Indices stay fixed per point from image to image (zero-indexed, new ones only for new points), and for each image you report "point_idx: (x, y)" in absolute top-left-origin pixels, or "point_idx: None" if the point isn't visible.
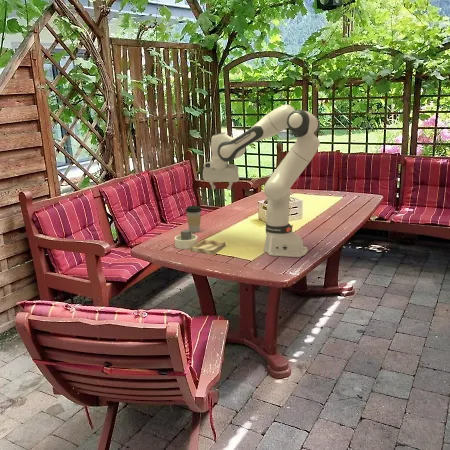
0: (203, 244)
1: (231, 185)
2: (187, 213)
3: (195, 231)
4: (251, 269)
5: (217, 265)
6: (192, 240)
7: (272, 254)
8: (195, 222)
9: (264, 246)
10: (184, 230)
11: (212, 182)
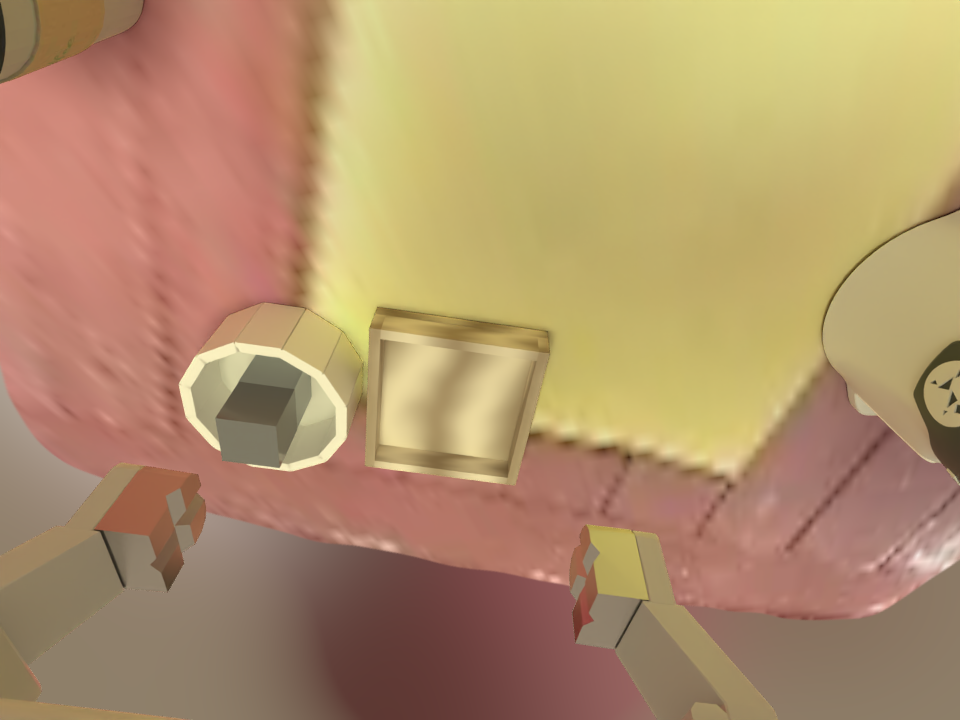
0: (385, 341)
1: (702, 644)
2: None
3: (122, 29)
4: (734, 554)
5: (569, 542)
6: (340, 443)
7: (872, 413)
8: (70, 54)
9: (840, 340)
10: (229, 435)
11: (16, 650)
